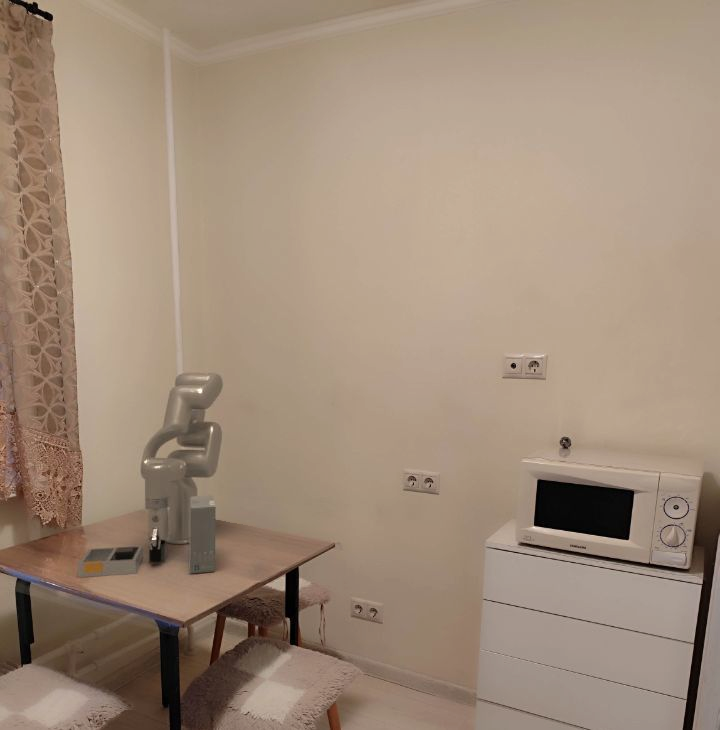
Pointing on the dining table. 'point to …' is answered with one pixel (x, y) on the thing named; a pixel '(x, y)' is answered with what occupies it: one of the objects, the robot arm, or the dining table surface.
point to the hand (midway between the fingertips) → (157, 556)
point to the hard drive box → (202, 534)
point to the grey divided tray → (110, 561)
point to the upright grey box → (163, 553)
